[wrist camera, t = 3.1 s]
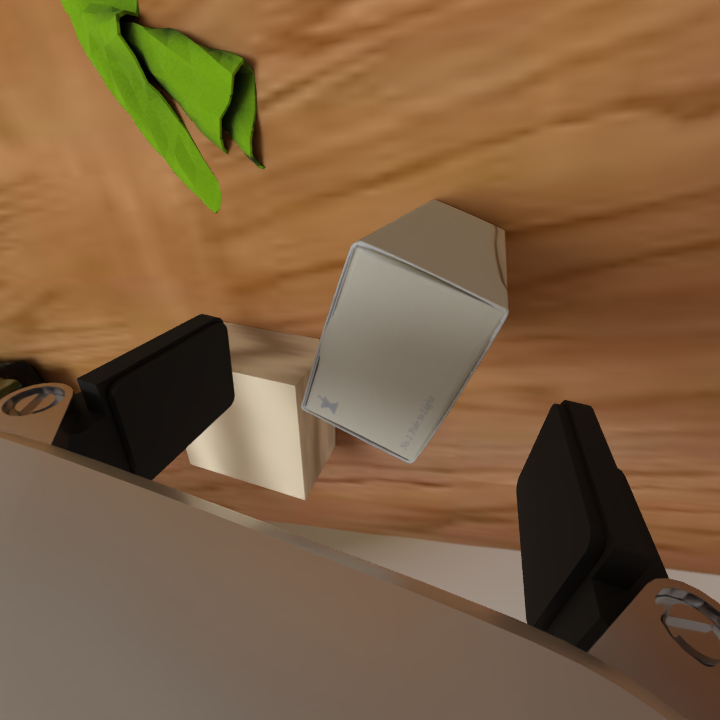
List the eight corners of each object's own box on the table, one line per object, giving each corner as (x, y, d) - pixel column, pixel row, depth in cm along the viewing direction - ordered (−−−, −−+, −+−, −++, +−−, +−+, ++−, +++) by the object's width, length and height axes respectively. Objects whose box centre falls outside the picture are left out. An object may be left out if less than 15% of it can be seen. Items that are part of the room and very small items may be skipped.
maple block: (334, 340, 25) (295, 385, 20) (336, 443, 30) (305, 500, 26) (216, 319, 28) (156, 354, 23) (236, 417, 33) (190, 464, 28)
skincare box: (452, 325, 22) (413, 473, 12) (386, 295, 22) (295, 413, 12) (509, 225, 18) (521, 315, 8) (429, 191, 19) (349, 238, 9)
